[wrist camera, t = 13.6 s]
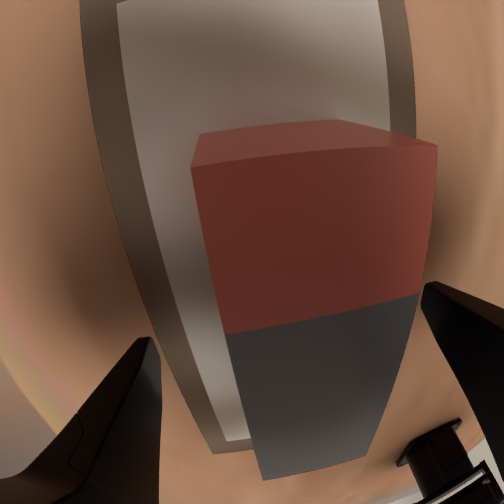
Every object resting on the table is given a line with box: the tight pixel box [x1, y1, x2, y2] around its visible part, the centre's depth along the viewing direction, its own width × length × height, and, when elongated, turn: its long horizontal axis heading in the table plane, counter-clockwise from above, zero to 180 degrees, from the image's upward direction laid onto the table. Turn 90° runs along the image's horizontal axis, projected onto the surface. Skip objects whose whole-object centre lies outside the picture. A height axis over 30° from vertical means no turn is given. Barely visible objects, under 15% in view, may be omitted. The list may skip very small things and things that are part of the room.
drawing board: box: [79, 0, 416, 454], centre depth 11 cm, size 24×10×1 cm, turn 7°
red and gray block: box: [190, 119, 437, 481], centre depth 9 cm, size 11×4×4 cm, turn 6°
